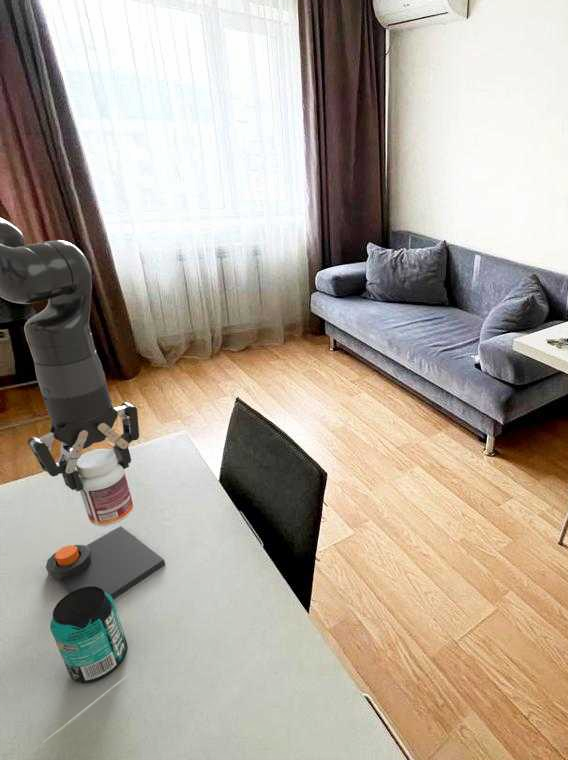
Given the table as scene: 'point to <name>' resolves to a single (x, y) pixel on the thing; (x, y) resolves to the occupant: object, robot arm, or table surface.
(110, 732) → the table surface
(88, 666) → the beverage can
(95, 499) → the pill bottle
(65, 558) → the button
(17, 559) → the table surface
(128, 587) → the scale
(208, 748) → the table surface
